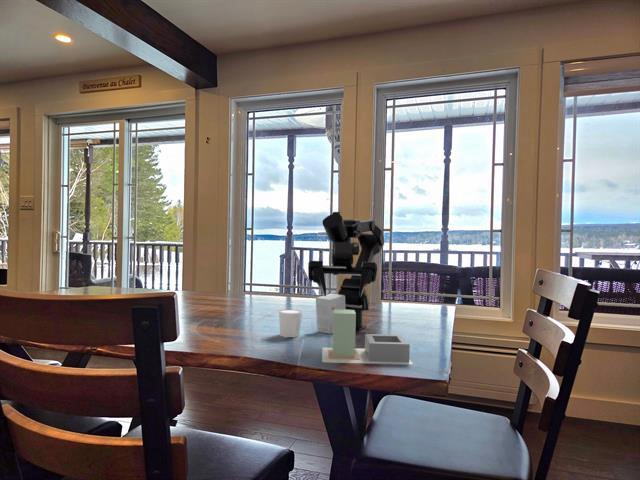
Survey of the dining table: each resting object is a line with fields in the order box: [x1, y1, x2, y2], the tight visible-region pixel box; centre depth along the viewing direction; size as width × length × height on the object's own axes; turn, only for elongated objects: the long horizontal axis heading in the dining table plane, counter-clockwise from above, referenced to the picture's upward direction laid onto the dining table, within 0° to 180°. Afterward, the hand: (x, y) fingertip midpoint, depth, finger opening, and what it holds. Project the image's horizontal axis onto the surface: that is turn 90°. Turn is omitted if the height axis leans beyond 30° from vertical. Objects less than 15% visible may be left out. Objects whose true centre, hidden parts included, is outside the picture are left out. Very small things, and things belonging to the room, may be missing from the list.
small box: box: [315, 292, 346, 335], centre depth 121 cm, size 8×6×10 cm
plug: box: [332, 309, 357, 357], centre depth 93 cm, size 5×5×10 cm
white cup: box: [278, 309, 303, 338], centre depth 115 cm, size 7×7×7 cm
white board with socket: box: [321, 333, 414, 366], centre depth 92 cm, size 12×20×5 cm, turn 89°
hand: (342, 295), depth 103 cm, fingers open, 9 cm apart
